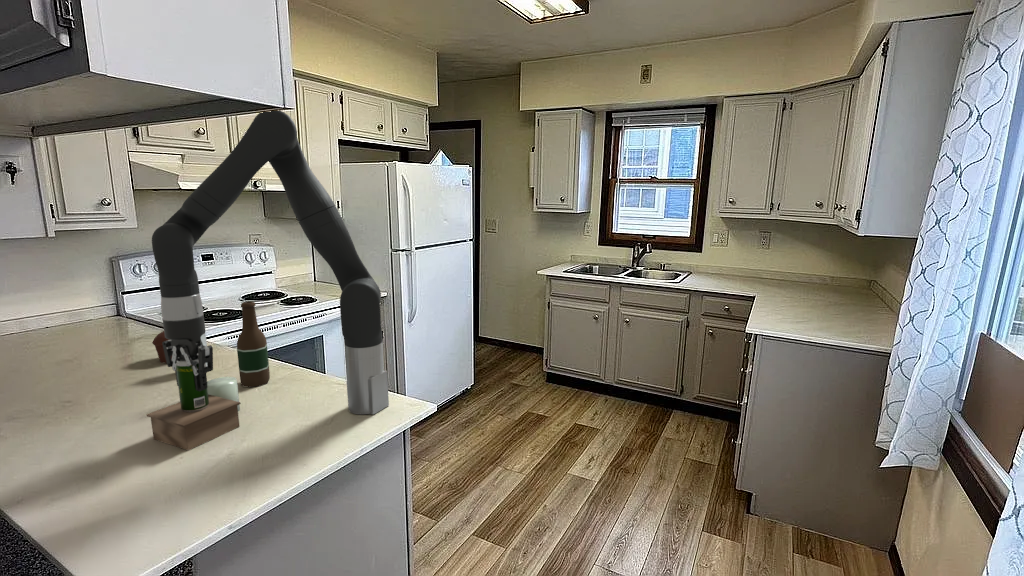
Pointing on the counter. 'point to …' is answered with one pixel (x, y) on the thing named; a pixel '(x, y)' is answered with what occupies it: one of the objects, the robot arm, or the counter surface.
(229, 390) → the pale green capsule
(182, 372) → the beer can
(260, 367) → the beer bottle
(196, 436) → the podium
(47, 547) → the counter surface
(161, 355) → the muffin
